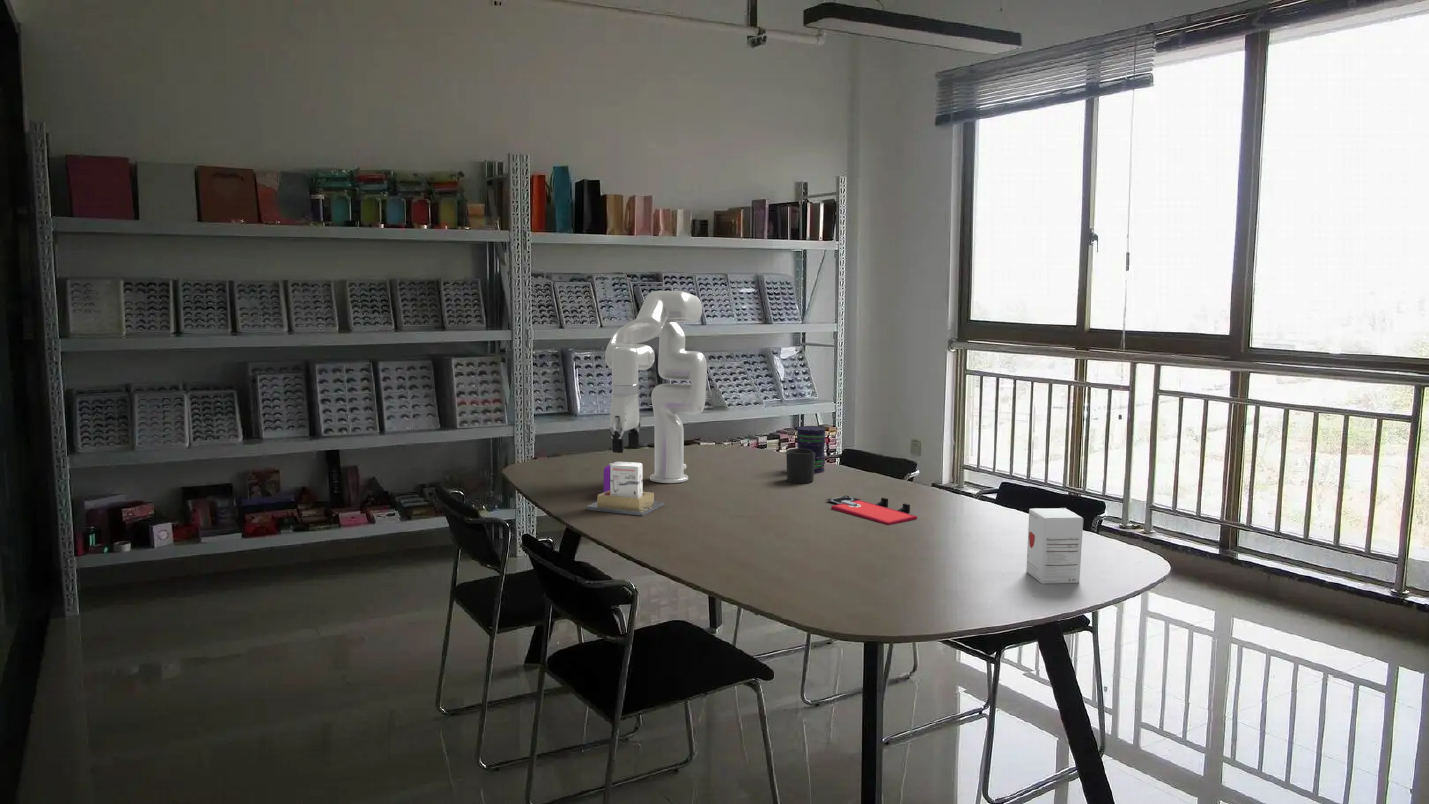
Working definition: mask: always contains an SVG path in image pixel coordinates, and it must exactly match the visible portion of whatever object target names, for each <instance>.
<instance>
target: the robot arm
mask: <svg viewBox="0 0 1429 804" xmlns="http://www.w3.org/2000/svg"><path fill="white" fill-rule="evenodd" d="M702 314H703V305H702V302H701V300H700V298H699V297H698V296H697V295H694V294H691V293H689V292H687V291H682V290H654V291H651V292H649V293H648V294H647V295H646V297H645V299H644V300H643V303H642V305H641V307H640V310H639V312H638V314H637V316H636V319H634V320H631V321H629V322H628V323H626V324H625V325H623V326H621V327H620V328H619V329H617V330H616V331H615V332H614V333H613V334H612V336H611V338H610V340H609V342H608V344H607V347H606V349H605V352H604V353H605V354H604V360H605V364H606V365H607V367H608V368H610V369H611V400H610V411H609V427H608V428H609V431H610V435H611V436H610V437H611V441H612V449H611V451H612V453H614V454H615V453H617V454H623V453H624V438H623V437H624V436H623V435H624V432H628V431H629V432H628V436H627V438H628V440H627V441H628V442H627V443H628V444H627V445H628V446H629V447H634V448H635V447H636V448H638V447H639V446H640V427H641V420H642V416H641V415H640V405H639V394H640V393H639V390H640V389H639V371H645V370H646V371H647V370H648V369H650V368H651V367H652V366H653V365H654V363H655V358H656V356H655V351H654V349H653V348H652V347H651V346H650V345H648V344H643V343H645V342H647V341H650V340H653V339H656V338H657V337H658V339H659V340H658V341H659V342H658V357H657V358H658V361H657V362H658V363H657V372H658V375H659V376H660V378H662V379H664V380H670V381H671V380H672V381H689V383H690V384H684V383H683V384H680V383H660V384H658V385H656V386H655V387H653V389H652V392H651V397H650V398H651V405H652V410H653V419H654V420H653V421H654V422H653V423H654V433H653V434H654V438H653V439H654V441H653V442H654V444H653V445H654V473H652V474H650V475H649V480H650V482H651V481H652V482H655V483H660V484H678V483H684V482H687V481H688V480H689V476H688V475H687V474H686V473H684V470H686V469H687V467H688V466H687V464H686V463H684V449H685V448H684V446H685V445H684V444H685V443H684V439H685V437H684V436H685V435H684V433H685V432H684V431H685V430H684V424H683V422H682V420H681V418H680V417H679V416H678V415H679V414H683V415H699V414H701V413H703V411H704V409H705V406H706V398H707V397H706V396H707V395H706V394H707V393H706V392H707V378H708V377H707V376H708V373H707V372H708V363H707V359H706V356H705V354H703V353H702V352H700V351H697V350H696V351H695V350H686V333H685V332H684V330H683V328H682V327H681V325H680V324H679V323H686V324H687V323H691V324H692V323H697V322H698V321H699V320H700V319H701V317H702Z"/></svg>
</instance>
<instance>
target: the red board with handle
mask: <svg viewBox="0 0 1429 804" xmlns="http://www.w3.org/2000/svg"><path fill="white" fill-rule="evenodd" d="M826 501H829V502H832V503H836V504H834V505H831V510H834V511H838V512H842V513H844V514H845V513H846V514H847V515H852V516H855V517H859V518H863V519H866V520H869V521H873V522H877V523H879V524H884V525H888V526H891V525H895V524H900V523H906V522H910V521H914V520H918V516H917V515H913V514H910V513H911V505H910V504H908V503H902V507H901V508H898V509H897V510H896V509H892V508H890V507H889V498H886V497H881V498H880V501H879V502H877V503H872V502H868V501H865V500H861V499H860V498H857V497H852V496H850V495H843V496H838V497H836V496H835V497H833V498H828V499H826Z"/></svg>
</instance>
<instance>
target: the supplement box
mask: <svg viewBox="0 0 1429 804" xmlns="http://www.w3.org/2000/svg"><path fill="white" fill-rule="evenodd" d="M1083 528H1084V518H1083V517H1082V516H1080V515H1078V514H1077V513H1075V512H1073V511H1071V510H1070V509H1067V507H1060V508H1058V507H1057V508H1054V507H1053V508H1051V507H1050V508H1044V507H1043V508H1038V507H1037V508H1036V507H1035V508H1029V509H1028V528H1027V530H1028V531H1027V547H1026V548H1027V552H1026V567H1025V568H1026V569H1025V570H1026V571H1025V572H1026V573H1028V574H1029V575H1030V576H1032V577H1033V578H1034V579H1036V580H1037V581H1038V582H1039V583H1040V584H1042V585H1043V584H1045V585H1047V584H1049V585H1050V584H1080V581H1081V580H1080V577H1081V561H1082V545H1083V544H1082V543H1083V532H1084V531H1083V530H1084V529H1083Z"/></svg>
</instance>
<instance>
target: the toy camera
mask: <svg viewBox="0 0 1429 804" xmlns="http://www.w3.org/2000/svg"><path fill="white" fill-rule="evenodd" d="M615 462H616V461H615ZM615 462H611V463H608V465H607V466H605V467H604V468H603V493H604V492H606V491H608V490H610V465H612V464H613V463H615Z"/></svg>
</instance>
